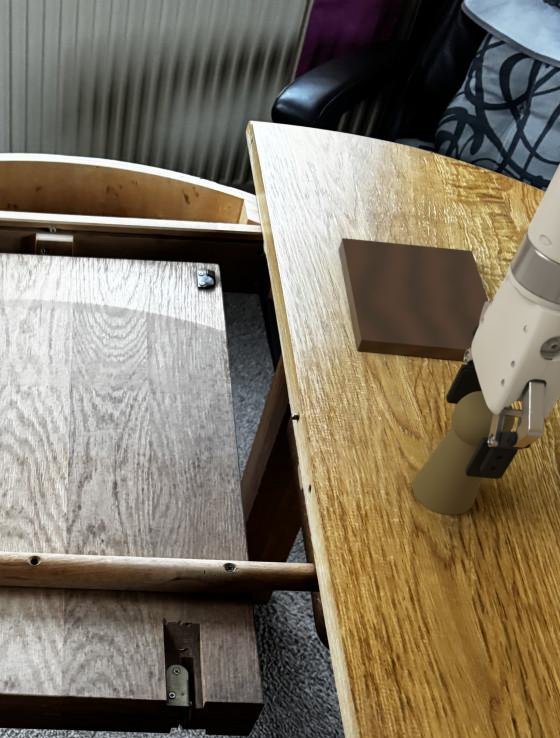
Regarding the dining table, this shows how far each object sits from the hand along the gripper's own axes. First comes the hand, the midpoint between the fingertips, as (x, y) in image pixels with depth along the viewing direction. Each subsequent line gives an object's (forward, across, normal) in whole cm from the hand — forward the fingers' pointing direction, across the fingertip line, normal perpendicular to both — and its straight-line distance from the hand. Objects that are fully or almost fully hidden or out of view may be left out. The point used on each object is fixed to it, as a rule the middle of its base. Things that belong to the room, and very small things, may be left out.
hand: (471, 437), depth 84 cm
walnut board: (+7, +31, -2) cm, 32 cm away
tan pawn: (+7, 0, 0) cm, 7 cm away
